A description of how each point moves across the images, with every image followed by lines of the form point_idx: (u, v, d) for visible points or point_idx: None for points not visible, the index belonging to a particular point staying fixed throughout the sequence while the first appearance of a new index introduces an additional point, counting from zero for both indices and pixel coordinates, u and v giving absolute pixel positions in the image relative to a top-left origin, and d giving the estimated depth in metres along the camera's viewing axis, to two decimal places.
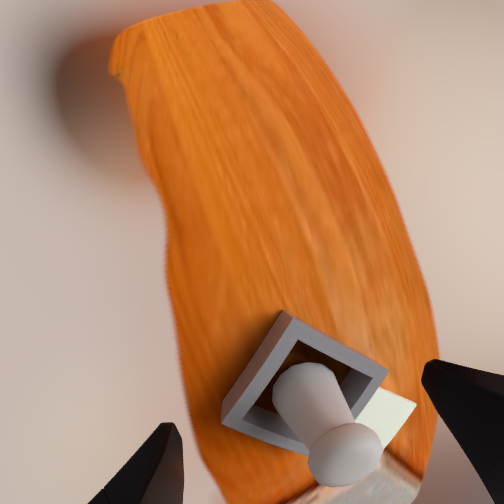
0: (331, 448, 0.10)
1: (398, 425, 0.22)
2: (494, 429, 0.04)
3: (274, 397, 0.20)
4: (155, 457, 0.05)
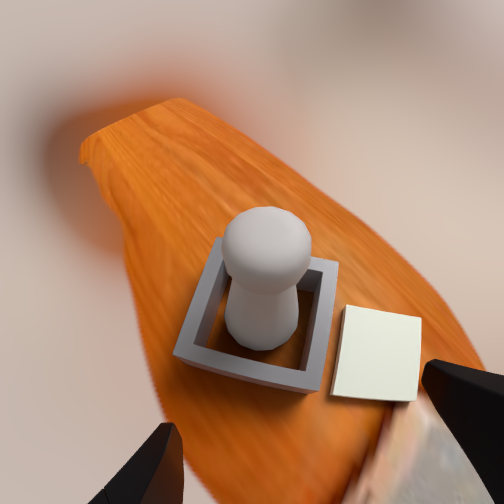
0: (230, 222, 0.13)
1: (415, 348, 0.20)
2: (494, 428, 0.04)
3: (226, 321, 0.20)
4: (155, 457, 0.05)
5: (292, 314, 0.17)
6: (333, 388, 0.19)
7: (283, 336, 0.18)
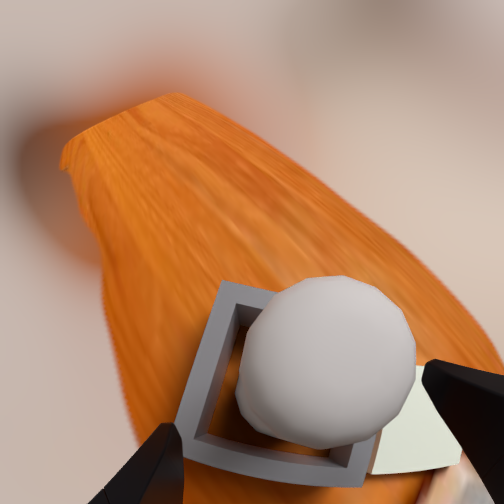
0: (259, 315, 0.06)
1: None
2: (494, 429, 0.04)
3: (238, 403, 0.13)
4: (155, 457, 0.05)
5: None
6: (371, 467, 0.12)
7: None
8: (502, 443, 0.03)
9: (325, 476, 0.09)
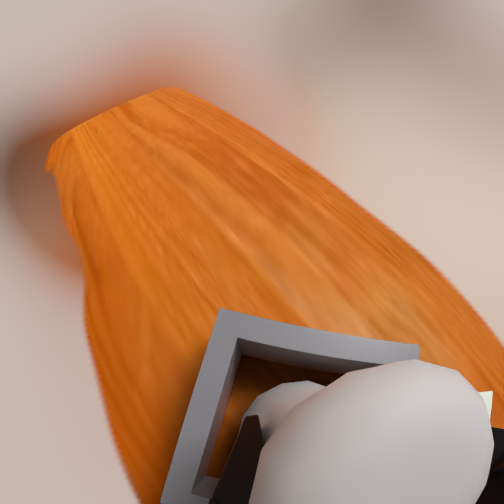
0: (283, 441, 0.03)
1: None
2: None
3: None
4: (257, 451, 0.05)
5: None
6: None
7: None
8: None
9: None
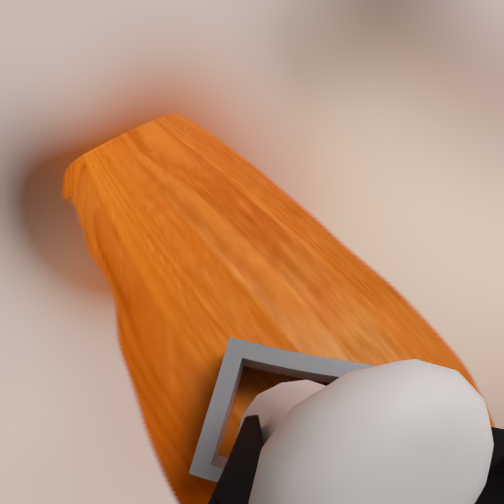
0: (282, 441, 0.03)
1: None
2: None
3: None
4: (257, 451, 0.05)
5: None
6: None
7: None
8: None
9: None
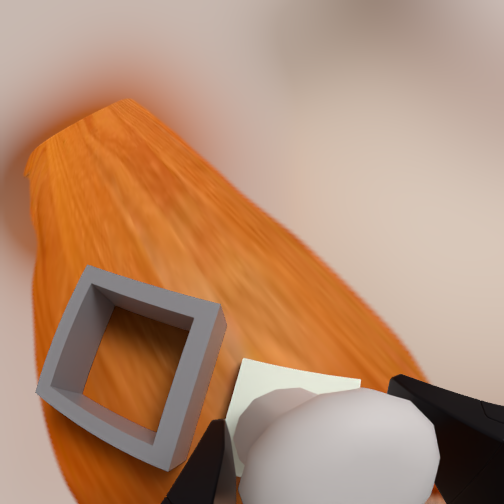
0: (264, 443, 0.04)
1: None
2: (459, 457, 0.04)
3: (237, 449, 0.11)
4: (216, 456, 0.05)
5: None
6: None
7: None
8: (468, 473, 0.03)
9: (133, 446, 0.11)
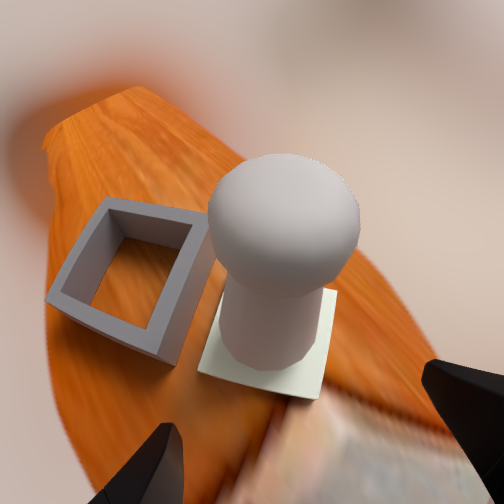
0: None
1: (323, 329, 0.18)
2: (494, 429, 0.04)
3: (221, 329, 0.15)
4: (155, 457, 0.05)
5: (313, 326, 0.12)
6: (199, 364, 0.17)
7: (297, 354, 0.13)
8: (502, 443, 0.03)
9: (128, 332, 0.14)
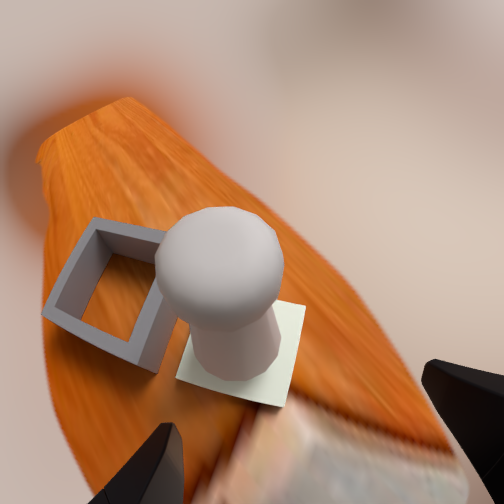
0: (172, 228, 0.09)
1: (290, 342, 0.19)
2: (494, 429, 0.04)
3: (192, 343, 0.16)
4: (155, 457, 0.05)
5: (267, 345, 0.13)
6: (177, 372, 0.18)
7: (257, 368, 0.14)
8: (502, 443, 0.03)
9: (113, 344, 0.16)
